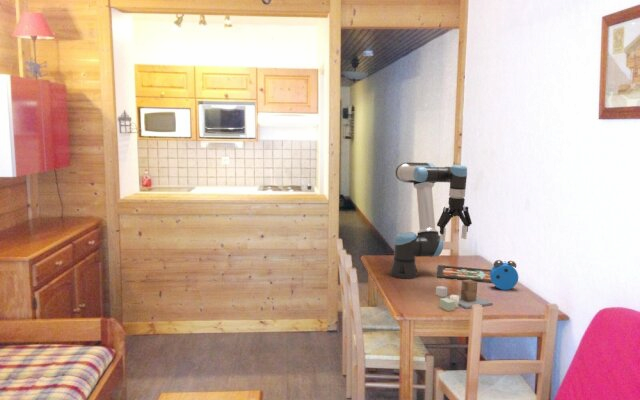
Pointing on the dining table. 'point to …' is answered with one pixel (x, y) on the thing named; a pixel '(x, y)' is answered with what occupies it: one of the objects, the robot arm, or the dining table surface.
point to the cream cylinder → (456, 299)
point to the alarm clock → (504, 275)
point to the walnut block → (468, 290)
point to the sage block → (447, 304)
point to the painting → (464, 273)
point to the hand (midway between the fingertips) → (453, 239)
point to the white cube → (441, 291)
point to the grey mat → (469, 304)
